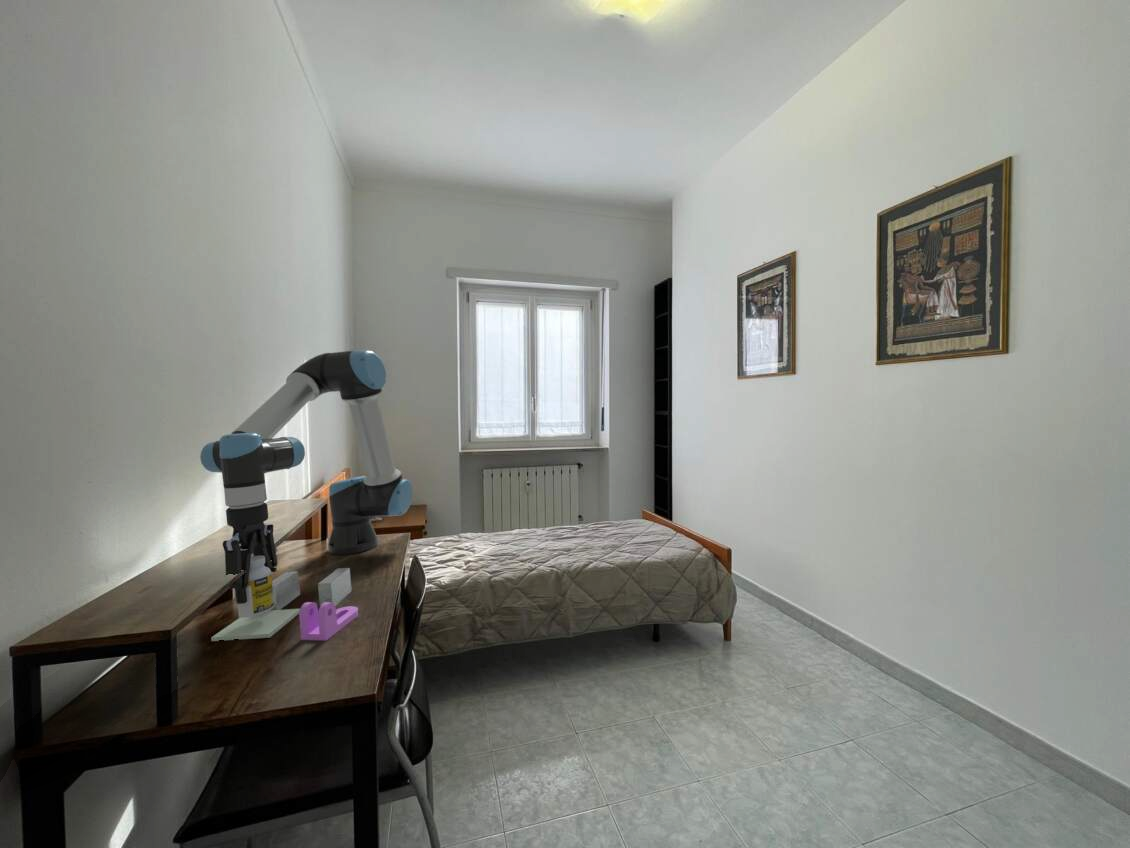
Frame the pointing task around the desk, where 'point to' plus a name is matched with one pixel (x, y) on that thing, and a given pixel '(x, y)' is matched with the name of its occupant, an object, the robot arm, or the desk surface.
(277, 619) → the mat
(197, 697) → the desk surface
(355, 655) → the desk surface
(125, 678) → the desk surface
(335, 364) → the robot arm
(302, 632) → the bracket
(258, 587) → the pill bottle
